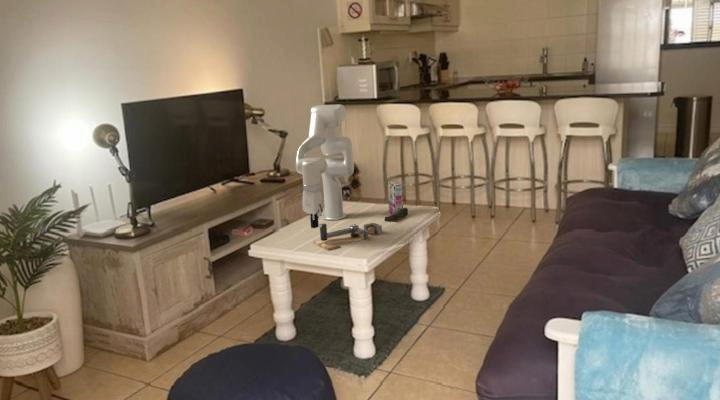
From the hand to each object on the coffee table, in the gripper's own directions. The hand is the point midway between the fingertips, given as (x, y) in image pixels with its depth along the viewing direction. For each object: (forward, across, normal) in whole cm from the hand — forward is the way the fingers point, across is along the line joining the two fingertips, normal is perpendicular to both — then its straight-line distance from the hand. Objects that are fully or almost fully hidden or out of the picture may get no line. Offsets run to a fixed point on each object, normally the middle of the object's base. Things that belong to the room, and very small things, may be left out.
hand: (314, 227), depth 268 cm
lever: (+6, +12, +7) cm, 15 cm away
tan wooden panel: (+7, +10, +12) cm, 17 cm away
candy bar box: (+7, -6, +58) cm, 59 cm away
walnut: (+6, +14, +22) cm, 26 cm away
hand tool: (+7, +2, +51) cm, 51 cm away
